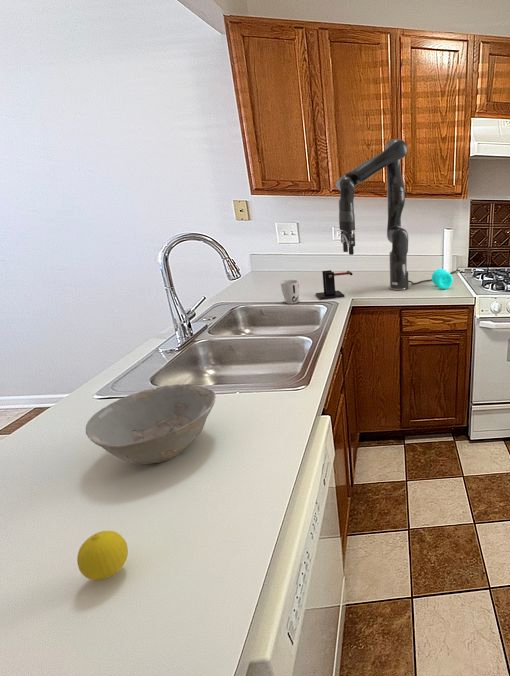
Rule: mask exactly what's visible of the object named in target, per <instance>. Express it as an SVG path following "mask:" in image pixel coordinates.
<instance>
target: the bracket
mask: <svg viewBox="0 0 510 676" xmlns="http://www.w3.org/2000/svg"><path fill="white" fill-rule="evenodd" d="M321 272H322V285H323V291H322V292H321V291H320V292H315V296H316V298H318V299H319V300H320V301H324V300H331V299H340V298H345V294H344V293H343V292H341V291H340V290H336V281H335V280H336V279H335V276H334V273H335V272H334V271H332V269H331V270H330V269H329V270H322V271H321Z"/></svg>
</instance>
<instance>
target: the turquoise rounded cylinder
mask: <svg viewBox="0 0 510 676" xmlns="http://www.w3.org/2000/svg"><path fill="white" fill-rule="evenodd" d="M450 273H451V272H448V271H447V270H446V269H444V268H437V269H436V270H434V271H433V273H432V275H431V279H432V281H431V282H432V283H433V284H434V285H435V286H437V288H439V289H441V290H447V289H449V288H450V287H451V286H452V285H453V282H454V277H453V275H452V273H451V274H450Z"/></svg>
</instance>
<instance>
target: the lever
mask: <svg viewBox="0 0 510 676" xmlns="http://www.w3.org/2000/svg"><path fill="white" fill-rule="evenodd" d="M347 275H349V276H353V272H352V271H350V270H347V271H345V272H334V277H337V276H347Z"/></svg>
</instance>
